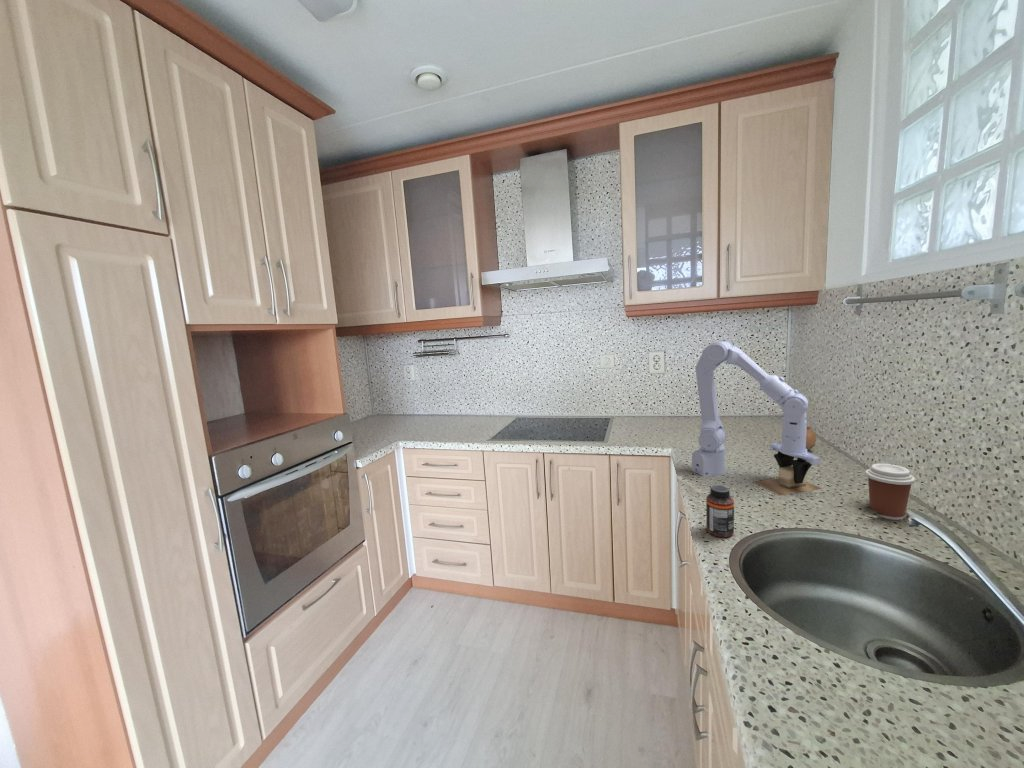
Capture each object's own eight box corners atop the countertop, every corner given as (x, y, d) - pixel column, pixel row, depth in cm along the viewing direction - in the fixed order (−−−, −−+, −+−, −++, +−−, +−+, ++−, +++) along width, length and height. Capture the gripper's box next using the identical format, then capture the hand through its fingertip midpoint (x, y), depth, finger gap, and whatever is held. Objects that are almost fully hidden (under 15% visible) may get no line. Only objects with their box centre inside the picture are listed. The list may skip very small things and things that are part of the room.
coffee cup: (863, 502, 106) (866, 459, 104) (912, 511, 99) (915, 466, 98) (861, 515, 99) (864, 469, 97) (913, 526, 93) (916, 477, 91)
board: (779, 499, 111) (780, 494, 110) (752, 485, 120) (752, 481, 120) (822, 492, 113) (822, 488, 113) (791, 479, 123) (792, 475, 122)
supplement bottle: (709, 523, 100) (709, 481, 98) (736, 530, 96) (736, 486, 95) (703, 534, 95) (703, 489, 94) (731, 541, 92) (731, 495, 90)
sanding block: (788, 488, 114) (789, 471, 113) (778, 483, 117) (778, 467, 117) (806, 485, 115) (807, 469, 114) (795, 481, 118) (796, 465, 118)
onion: (813, 448, 149) (814, 422, 148) (817, 455, 141) (818, 428, 140) (783, 445, 154) (784, 420, 153) (785, 453, 146) (786, 426, 145)
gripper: (829, 440, 108) (827, 487, 110) (784, 428, 122) (783, 470, 124) (807, 443, 106) (805, 491, 108) (764, 430, 121) (763, 473, 123)
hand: (792, 480), depth 116 cm, fingers closed on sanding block, 4 cm apart
